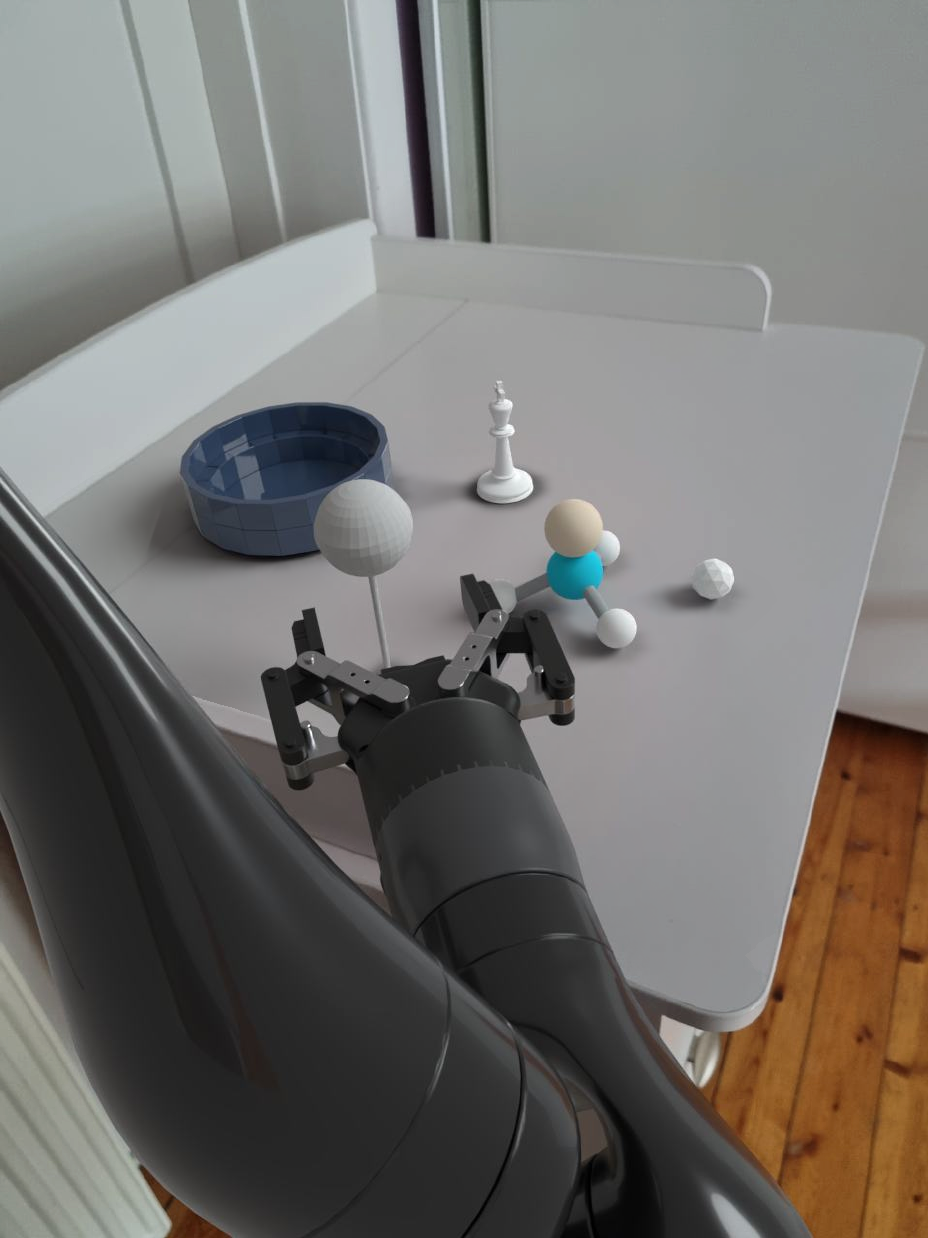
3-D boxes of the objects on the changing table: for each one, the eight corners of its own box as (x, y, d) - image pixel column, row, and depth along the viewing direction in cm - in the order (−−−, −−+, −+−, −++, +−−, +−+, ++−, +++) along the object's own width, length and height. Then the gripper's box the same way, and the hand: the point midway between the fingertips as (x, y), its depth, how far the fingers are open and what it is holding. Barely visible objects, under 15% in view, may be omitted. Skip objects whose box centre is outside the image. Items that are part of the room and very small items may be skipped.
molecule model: (677, 643, 65) (686, 537, 59) (513, 683, 63) (506, 577, 58) (611, 550, 74) (614, 450, 69) (466, 582, 72) (457, 482, 67)
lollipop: (379, 637, 68) (347, 452, 58) (448, 661, 65) (427, 471, 56) (327, 690, 64) (284, 501, 54) (399, 718, 61) (366, 524, 52)
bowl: (277, 588, 73) (262, 529, 70) (158, 514, 83) (140, 459, 80) (435, 493, 83) (429, 437, 79) (311, 437, 93) (301, 385, 89)
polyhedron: (696, 610, 68) (700, 576, 66) (686, 585, 70) (689, 551, 68) (736, 606, 68) (740, 572, 66) (724, 581, 70) (728, 547, 68)
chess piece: (486, 508, 80) (479, 400, 74) (470, 480, 84) (461, 375, 78) (541, 496, 81) (538, 388, 75) (522, 469, 85) (518, 364, 78)
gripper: (638, 731, 37) (514, 518, 49) (274, 822, 35) (240, 575, 47) (630, 851, 42) (519, 629, 54) (310, 938, 39) (270, 685, 52)
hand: (389, 604), depth 50 cm, fingers open, 8 cm apart
